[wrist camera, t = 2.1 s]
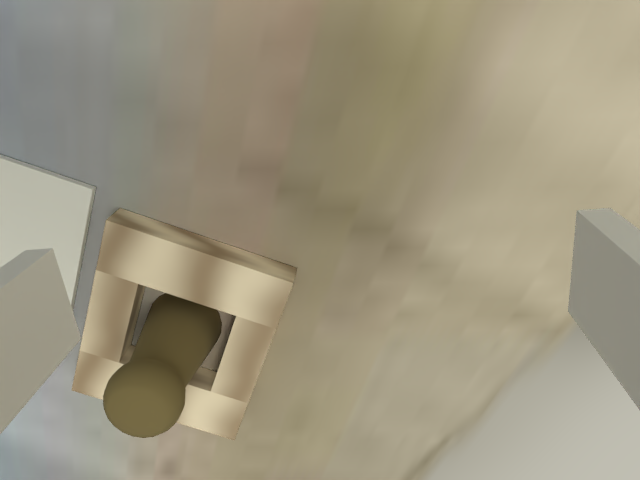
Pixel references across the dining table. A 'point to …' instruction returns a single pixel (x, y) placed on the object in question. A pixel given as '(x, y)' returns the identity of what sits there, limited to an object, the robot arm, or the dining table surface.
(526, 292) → the dining table surface
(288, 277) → the socket block
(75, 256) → the rubber mat
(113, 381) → the olive peg figure
